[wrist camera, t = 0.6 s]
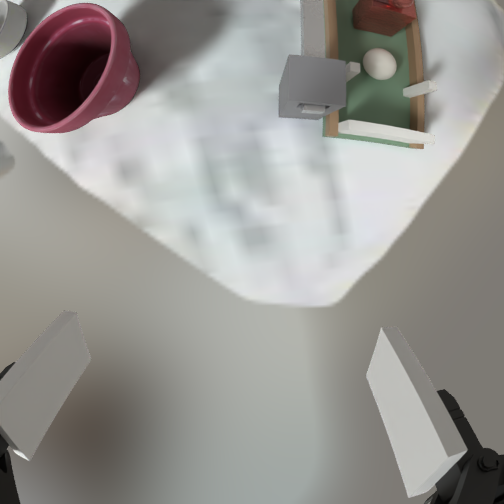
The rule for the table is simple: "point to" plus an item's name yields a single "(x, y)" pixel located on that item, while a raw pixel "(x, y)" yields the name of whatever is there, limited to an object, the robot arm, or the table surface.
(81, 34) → the plant pot
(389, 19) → the slider
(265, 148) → the table surface
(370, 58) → the ball
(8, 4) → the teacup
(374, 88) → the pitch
